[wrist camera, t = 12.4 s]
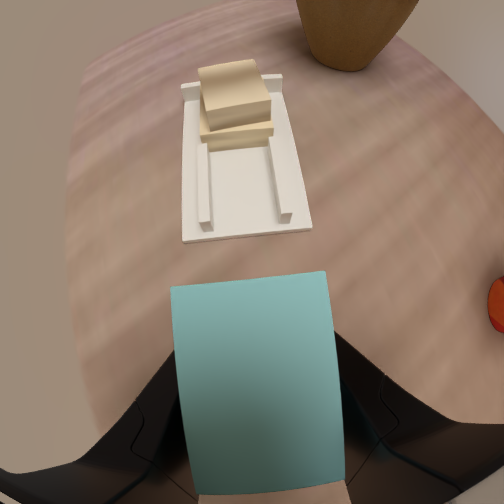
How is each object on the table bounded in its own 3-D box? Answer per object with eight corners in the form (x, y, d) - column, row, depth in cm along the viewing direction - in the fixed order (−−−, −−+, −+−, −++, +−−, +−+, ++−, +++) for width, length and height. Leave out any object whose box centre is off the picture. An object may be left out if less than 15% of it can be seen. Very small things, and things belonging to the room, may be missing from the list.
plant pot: (271, 30, 32) (273, -65, 16) (366, 34, 32) (387, -48, 17) (296, 92, 27) (311, -42, 12) (411, 96, 28) (457, -4, 12)
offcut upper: (270, 120, 22) (271, 99, 20) (210, 131, 22) (206, 111, 20) (253, 78, 24) (253, 59, 22) (201, 88, 24) (197, 68, 21)
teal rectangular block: (295, 402, 14) (345, 479, 5) (231, 409, 14) (196, 494, 5) (285, 312, 15) (324, 270, 6) (221, 318, 15) (170, 286, 6)
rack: (311, 230, 23) (317, 216, 20) (184, 243, 23) (175, 231, 20) (280, 92, 27) (281, 74, 25) (186, 101, 27) (181, 84, 25)
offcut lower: (272, 145, 24) (273, 127, 22) (204, 153, 24) (199, 135, 22) (262, 94, 26) (262, 76, 24) (203, 100, 26) (200, 83, 24)
